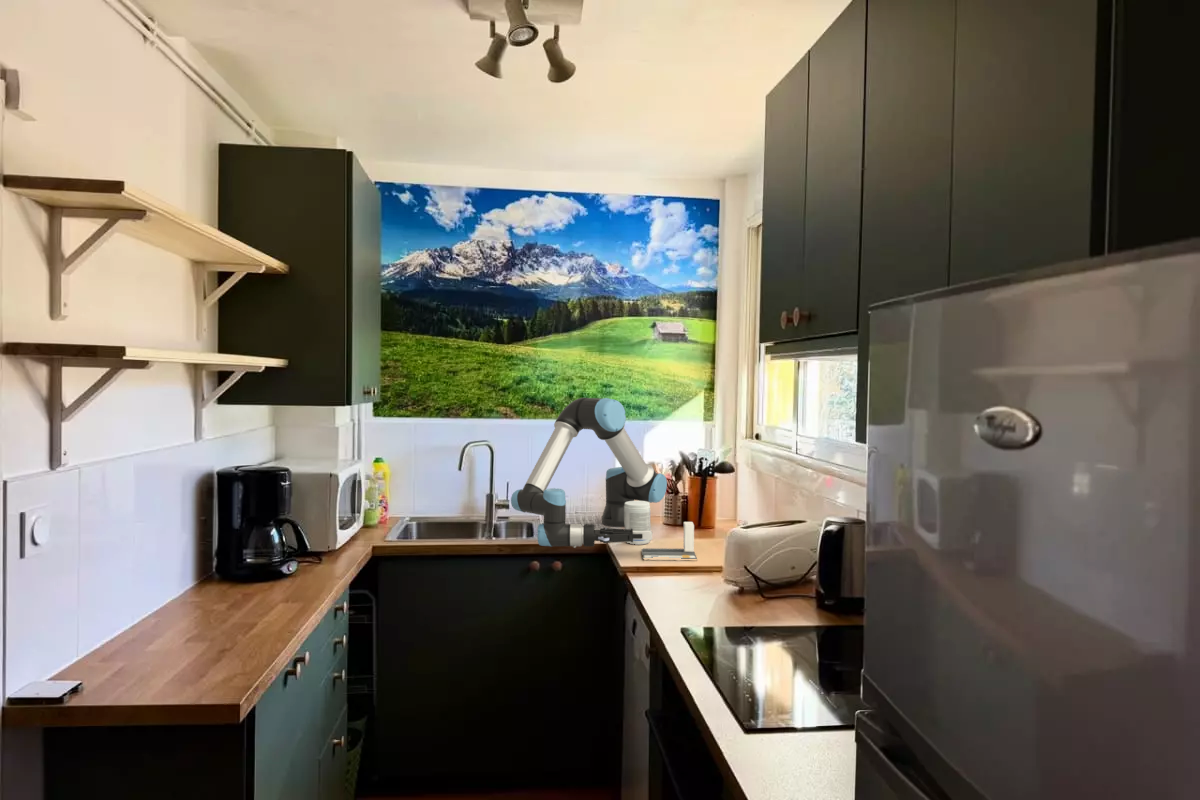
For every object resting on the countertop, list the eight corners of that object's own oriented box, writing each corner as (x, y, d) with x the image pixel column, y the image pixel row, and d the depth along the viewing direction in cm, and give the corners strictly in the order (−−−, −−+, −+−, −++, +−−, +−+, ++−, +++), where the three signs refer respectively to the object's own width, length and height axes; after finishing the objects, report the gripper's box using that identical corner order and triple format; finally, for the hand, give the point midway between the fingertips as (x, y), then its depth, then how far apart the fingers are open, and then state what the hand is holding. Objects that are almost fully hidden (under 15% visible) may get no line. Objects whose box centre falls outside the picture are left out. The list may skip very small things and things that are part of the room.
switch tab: (683, 551, 252) (683, 521, 251) (692, 551, 252) (692, 521, 251) (684, 555, 247) (685, 525, 246) (693, 555, 247) (694, 525, 246)
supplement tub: (655, 542, 268) (655, 502, 267) (638, 546, 262) (638, 506, 261) (636, 537, 275) (636, 499, 274) (618, 542, 269) (618, 502, 268)
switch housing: (641, 551, 255) (641, 546, 255) (692, 551, 255) (693, 546, 255) (643, 560, 243) (643, 555, 243) (697, 560, 243) (697, 555, 243)
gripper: (583, 541, 256) (650, 541, 256) (582, 550, 243) (653, 551, 243) (583, 520, 255) (650, 520, 255) (582, 528, 242) (653, 528, 242)
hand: (652, 535), depth 249 cm, fingers closed
